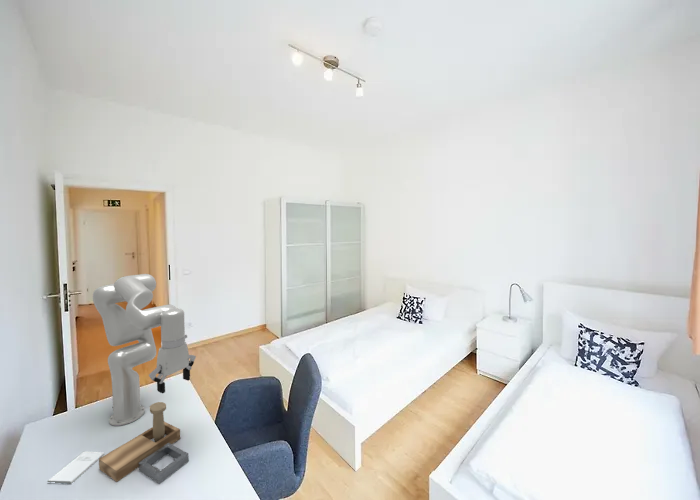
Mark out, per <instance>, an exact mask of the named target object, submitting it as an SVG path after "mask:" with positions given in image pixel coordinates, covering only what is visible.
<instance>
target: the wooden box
mask: <svg viewBox="0 0 700 500" xmlns="http://www.w3.org/2000/svg"><path fill="white" fill-rule="evenodd" d="M164 425H165V434H164V438H162V439H161V440H159V441H158V442H156V443H155V442H154V438H153V426H152V427H150V428H148V429H147V430H145V431H144V432H142V433H140V434H139V435H137V436H135V437H133V438H132V439H130V440H128V441H127V442H125V443H123V444H122V445H120V446H118V447H117V448H115V449H113V450H112V451H109V452H108V453H106V454H104V456H102V457H101V458H99V460H98V467H99V469H98V470H100V472H102V473H104V474H105V475H106V476H108V477H109V478H111V479H112V480H114V481H115V482H116V483H118V482H119V481H121V480H122V479H123V478H125V477H127V476H128V475H130V474H131V473H132V472H134V471H136V469H139V464H138V463H139V462H141V461H142V460H144V459H145V458H147V457H148V456H150V455H151V454H153V453H154V452H155V451H157V450H158V449H160V448H161V447H163V446H164V445H166V444H167V443H170V444H172V445H174V444H175V443H176V442H178V441H179V440H180V439H181V429H180V428H178V427H177V426H174V425H172V424H170V423H169V422H166V421H164Z"/></svg>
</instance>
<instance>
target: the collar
mask: <svg viewBox="0 0 700 500" xmlns="http://www.w3.org/2000/svg"><path fill="white" fill-rule="evenodd" d="M167 455H168V456H169V457H172V458H173V459H174V460H173V461H172V462H170V463H169V464H168V465H166V466H165V467H163V468H162V469H159V468H157V467H155V466H154V464H156V463H158V462H159V461H160V460H162V458H164V457H166V456H167ZM189 456H190V455H189V452H186V451H185V450H183V449H181V448H180V447H178V446H175V445H174V444H170V443H167V444H166V445H164V446H163V447H161V448H160V449H158V450H157V451H155V452H154V453H153V454H151V455H150V456H148V457H147V458H145V459H144V460H142V461H141V462H139V463H138V464H139V467H138V472H140V473H141V474H143V475H144V476H146V477H147V478H149V479H150V480H152V481H154V482H155V483H156V484H158V485H160V484H161V483H163V482H164V481H165V480H166V479H168V478H169V477H171V476H172V474H174V473H175V472H176V471H178V470H179V469H181V468H182V467H183V466H184V465H186V464H187V463H188V462H189V461H190V460H189V458H190V457H189Z"/></svg>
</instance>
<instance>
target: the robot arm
mask: <svg viewBox="0 0 700 500" xmlns="http://www.w3.org/2000/svg"><path fill="white" fill-rule="evenodd" d="M156 287H157V282H156V278H155V277H154V276H153V275H152V274H148V273H141V274H132V275H125V276H122V277H120V278H118V279H117V280H116V281H114V283H110V284H106V285H105V284H104V285H102V286H99V287H97V288H95V290H94V291H93V293H92V301H93V305H94V307H95V309H96V310H97V312H98V313H99V315H100V317H101V319H102V324H103V326H104V331H105V336H106V339H107V342H108V344H109V345H110V346H112V347H118V346H122V345H126V344H129V343H133V342H136V341H137V342H136V343H134V344H130V345H127V346H124V347H123V346H122V347H120V348H118V349H116V350H114V351H112V352H111V353H110V354H109V355H108V357H107V364H108V368H109V372H110V377H111V391H112V392H111V393H112V411H113V412H112V414H111V416H110V417H109V419H108V424H109V425H111V426H118V427H121V426H124V425H129V424H131V423H133V422H135V421H137V420H138V419H140V418H141V417H142V416H144V414H145V412H146V411H145V410H146V409H145V407H144V406H142V405H141V387H140V375H139V373H138V372H137V371H135V370H134V369H133V368H134V367H137V366H139V365H142V364H145V363H147V362H150V361H152V360H153V359H154V358H156V368H155V369H153V370H152V371H151V372H150V373H149V374H148V377H149V378H150V379H151V381H153V382H155V383H156V387H157V388H156V390H157V392H158V393H161V394H165V393H166V383H165V380H166V378H167V377H168V376H171V375H172V374H175V373H177V372H180V371H181V370H182V379H183V380H185V381H190V380H191V370H192V368H193V365H194V363H195V360H196V357H197V356H196V355H194V354H190V353H189V348H188V345H187V344H188V343H187V342H186V339H187V338H188V335H187V334H186V333H185V332H186V331H185V327H186V325H185V311H184V309H182V308H177V307H176V306H175V305H173V304H163V305H159V306H154V307H149V308H146V307H147V306H148V305H149V304H150V303H151V302H152V301H153V298H154V293H153V292H154V291H155V289H156ZM122 302H126V306H125V308H124V307H122V306H121V305H119V304H118V303H122ZM144 308H145V309H144ZM158 327H160V338H161V340H160V341H161V343H160V345H161V347H159V348H158V353H157V347H156V343H155V339H154V335H153V331H152V329H154V328H158ZM156 356H157V357H156ZM156 375H157V376H156Z"/></svg>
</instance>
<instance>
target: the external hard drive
mask: <svg viewBox="0 0 700 500" xmlns="http://www.w3.org/2000/svg"><path fill="white" fill-rule="evenodd" d="M103 456H105V452H103V451H82V452H81V453H80V454H79V455H78V456H76V457H75V458H74V459H73V460H72V461H70V462H69V463H68V464H67V465H65V466H64V467H63V468H61V469H60V470H59V471H58V472H57V473H55V474H54V475H53V476H51V477H50V478H49V479H48V480H47V482H55V483H67V484H66V485H73V484H74V483H75V482H76V481H77V480H78V479H79V478H80V477H81V476H82V475H84V474H85V473H86V472H87V471H88V470H89V469H90V468H92V467H93V465H95V464H96V463H97V462H99V458H101V457H103ZM73 482H74V483H73ZM72 483H73V484H72Z"/></svg>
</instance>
